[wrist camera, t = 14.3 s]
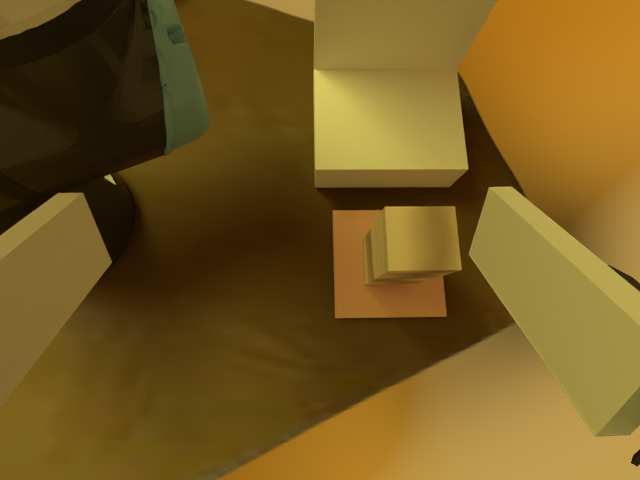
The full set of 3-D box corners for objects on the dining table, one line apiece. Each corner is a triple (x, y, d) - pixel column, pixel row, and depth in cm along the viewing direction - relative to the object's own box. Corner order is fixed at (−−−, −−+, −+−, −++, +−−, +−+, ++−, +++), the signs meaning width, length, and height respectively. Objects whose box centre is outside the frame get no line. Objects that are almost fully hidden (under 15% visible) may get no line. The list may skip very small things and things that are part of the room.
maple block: (364, 285, 37) (388, 270, 25) (362, 240, 38) (384, 206, 26) (414, 284, 37) (461, 269, 25) (410, 240, 38) (455, 206, 26)
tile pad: (334, 318, 37) (335, 318, 36) (332, 211, 39) (332, 210, 39) (444, 316, 37) (446, 316, 36) (435, 211, 40) (436, 209, 39)
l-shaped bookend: (314, 187, 40) (319, 4, 17) (313, 86, 43) (316, -190, 19) (449, 187, 40) (640, 8, 17) (439, 87, 43) (589, -182, 20)
